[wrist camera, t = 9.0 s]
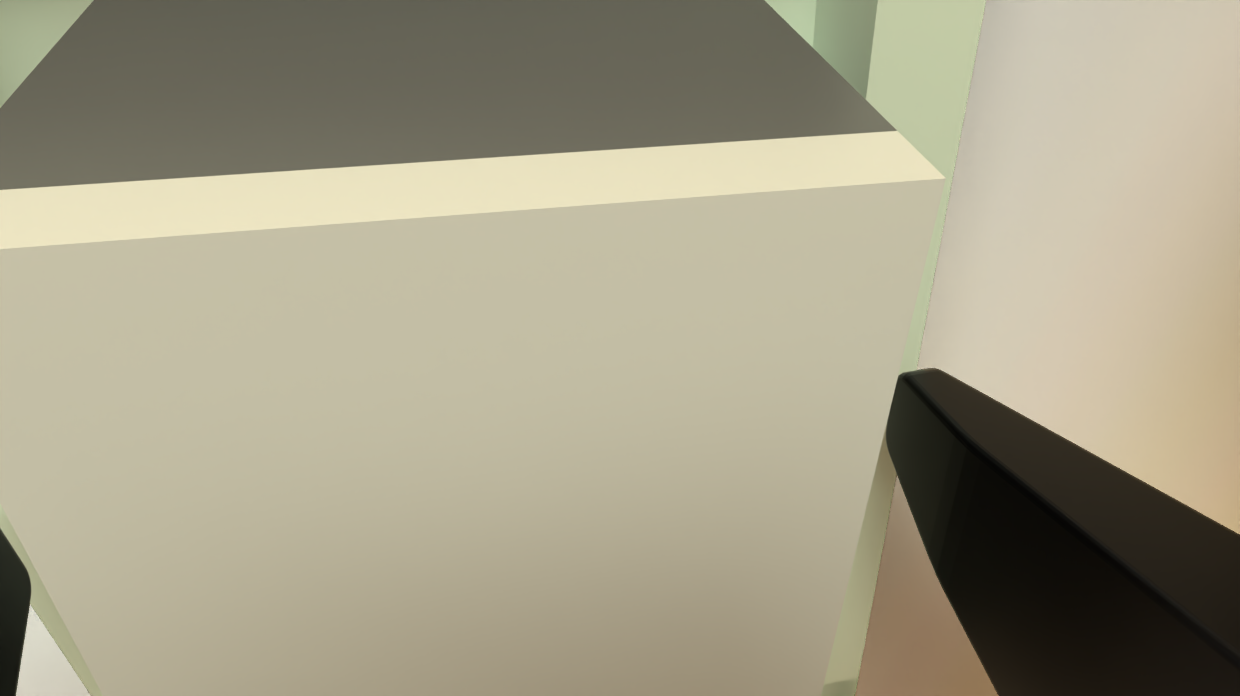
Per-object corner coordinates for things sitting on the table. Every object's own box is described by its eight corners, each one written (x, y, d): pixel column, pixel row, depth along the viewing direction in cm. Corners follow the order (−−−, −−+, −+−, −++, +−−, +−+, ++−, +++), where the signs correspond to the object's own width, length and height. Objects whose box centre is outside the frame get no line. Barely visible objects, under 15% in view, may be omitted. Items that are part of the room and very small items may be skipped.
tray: (938, -432, 8) (1070, -449, 6) (808, 611, 16) (851, 714, 15) (-380, -370, 7) (-620, -374, 5) (213, 721, 15) (191, 846, 14)
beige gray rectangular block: (701, -61, 9) (945, 178, 5) (662, 575, 14) (763, 934, 10) (130, -44, 8) (-131, 257, 4) (318, 622, 13) (282, 1032, 9)
